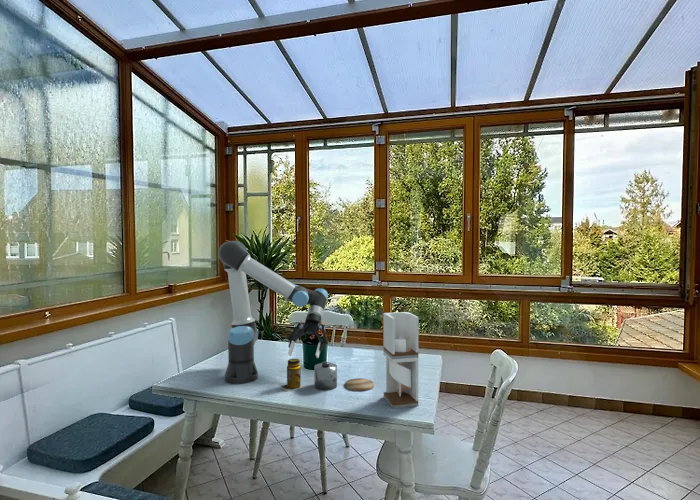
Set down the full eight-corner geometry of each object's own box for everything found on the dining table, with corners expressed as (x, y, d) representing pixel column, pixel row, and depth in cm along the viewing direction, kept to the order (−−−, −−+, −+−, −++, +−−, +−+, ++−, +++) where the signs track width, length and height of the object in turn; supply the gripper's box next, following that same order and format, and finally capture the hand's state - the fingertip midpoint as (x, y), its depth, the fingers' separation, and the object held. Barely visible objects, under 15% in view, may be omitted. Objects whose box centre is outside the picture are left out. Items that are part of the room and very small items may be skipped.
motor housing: (311, 384, 182) (310, 361, 181) (331, 380, 186) (330, 358, 186) (320, 392, 173) (319, 367, 173) (340, 387, 178) (340, 364, 177)
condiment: (304, 387, 178) (304, 360, 178) (286, 391, 174) (286, 364, 173) (296, 382, 184) (296, 356, 184) (279, 386, 180) (279, 359, 179)
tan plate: (339, 383, 183) (339, 381, 183) (364, 378, 189) (364, 376, 189) (353, 393, 172) (353, 390, 172) (379, 387, 178) (379, 385, 178)
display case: (383, 397, 167) (383, 313, 166) (407, 394, 170) (407, 311, 169) (392, 408, 156) (392, 318, 155) (418, 405, 159) (418, 317, 157)
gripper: (340, 322, 200) (330, 361, 186) (293, 319, 207) (281, 357, 193) (336, 313, 195) (326, 353, 181) (289, 311, 202) (275, 349, 188)
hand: (303, 355), depth 187 cm, fingers open, 13 cm apart
